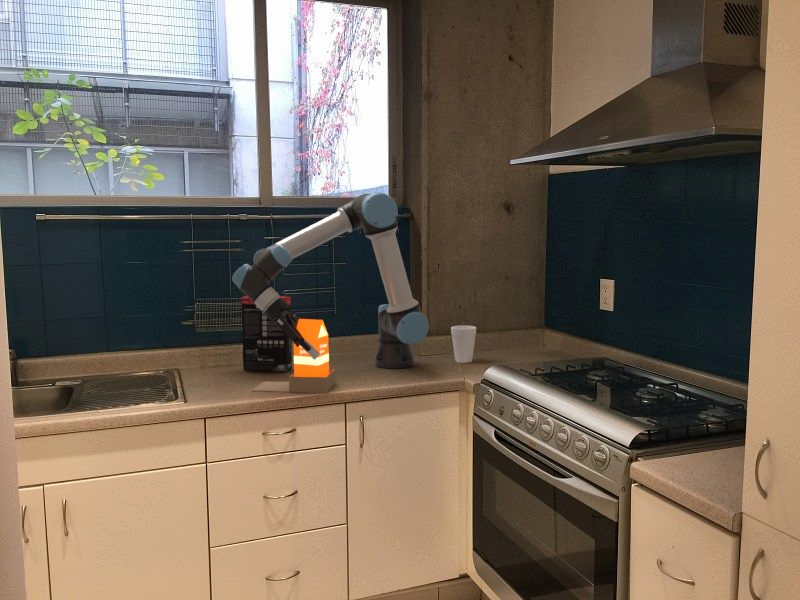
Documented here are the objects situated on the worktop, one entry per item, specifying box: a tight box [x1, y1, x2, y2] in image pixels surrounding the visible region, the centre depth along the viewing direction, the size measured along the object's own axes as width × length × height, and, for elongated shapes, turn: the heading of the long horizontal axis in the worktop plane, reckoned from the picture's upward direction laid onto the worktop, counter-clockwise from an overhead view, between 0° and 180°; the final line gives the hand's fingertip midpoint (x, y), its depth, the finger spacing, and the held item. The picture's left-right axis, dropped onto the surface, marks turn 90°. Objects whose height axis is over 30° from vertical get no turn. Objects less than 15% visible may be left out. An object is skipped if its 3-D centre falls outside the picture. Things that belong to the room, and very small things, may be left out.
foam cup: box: [450, 325, 477, 364], centre depth 264 cm, size 10×9×13 cm
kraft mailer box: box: [251, 368, 337, 394], centre depth 226 cm, size 25×12×5 cm, turn 82°
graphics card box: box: [240, 295, 293, 373], centre depth 251 cm, size 17×7×27 cm, turn 84°
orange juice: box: [293, 318, 330, 377], centre depth 224 cm, size 8×9×20 cm
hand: (321, 353), depth 223 cm, fingers closed on orange juice, 9 cm apart
